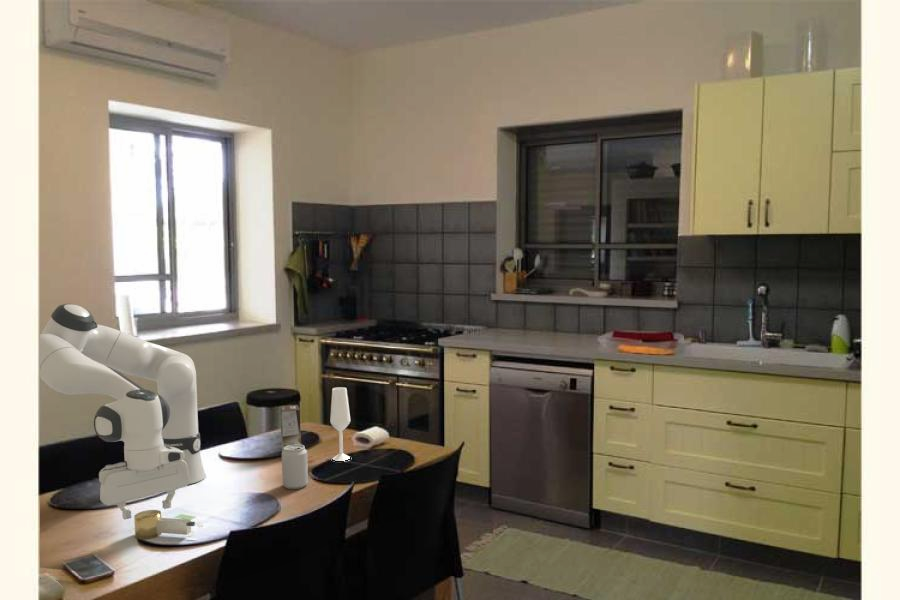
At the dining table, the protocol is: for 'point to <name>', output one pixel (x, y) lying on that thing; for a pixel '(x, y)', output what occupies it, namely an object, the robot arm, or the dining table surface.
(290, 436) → the coffee box
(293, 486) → the can
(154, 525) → the yellow cylinder with handle
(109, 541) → the dining table surface
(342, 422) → the champagne flute
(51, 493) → the dining table surface
